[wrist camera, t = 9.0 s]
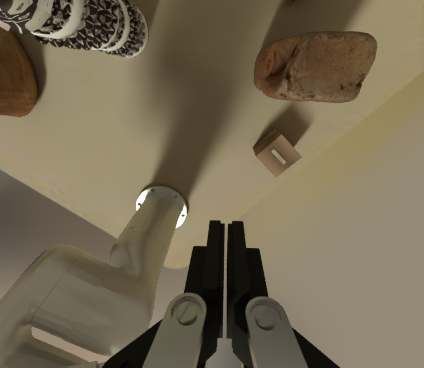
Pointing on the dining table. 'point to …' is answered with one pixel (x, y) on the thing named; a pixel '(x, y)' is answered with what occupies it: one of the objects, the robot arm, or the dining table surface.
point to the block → (316, 66)
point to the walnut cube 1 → (276, 152)
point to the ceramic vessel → (15, 77)
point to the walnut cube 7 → (289, 2)
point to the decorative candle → (79, 24)
